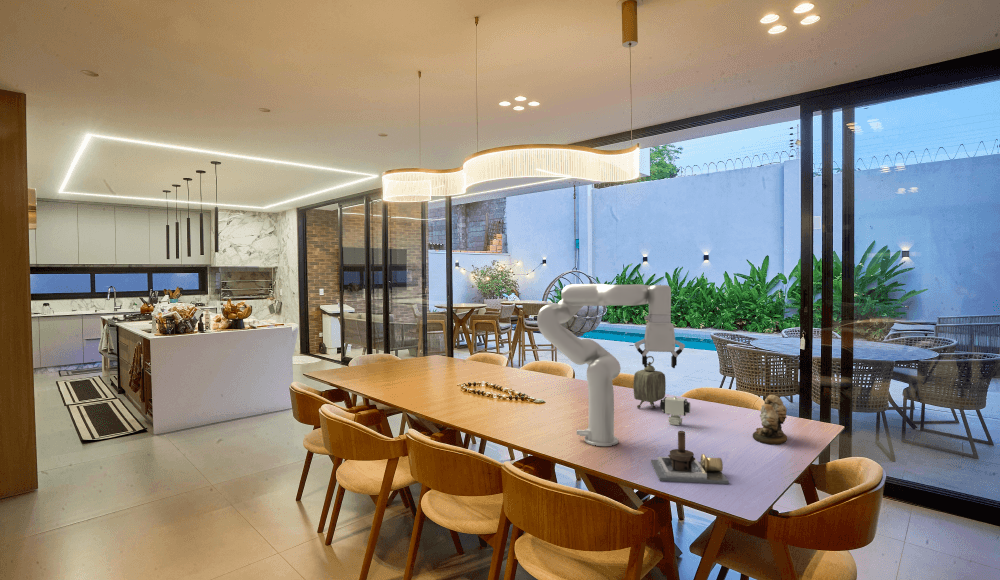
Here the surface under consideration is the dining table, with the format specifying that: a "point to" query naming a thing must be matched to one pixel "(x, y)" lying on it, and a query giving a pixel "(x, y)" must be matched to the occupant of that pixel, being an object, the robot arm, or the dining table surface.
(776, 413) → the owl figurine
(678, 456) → the industrial component
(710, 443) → the dining table surface
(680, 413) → the pneumatic valve
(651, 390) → the tabletop clock
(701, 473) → the mounting plate
